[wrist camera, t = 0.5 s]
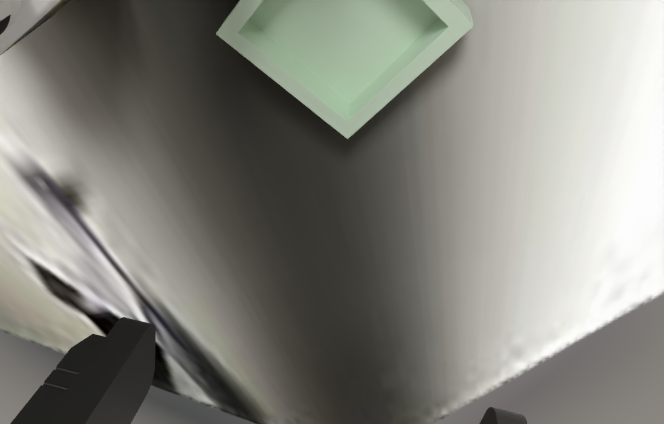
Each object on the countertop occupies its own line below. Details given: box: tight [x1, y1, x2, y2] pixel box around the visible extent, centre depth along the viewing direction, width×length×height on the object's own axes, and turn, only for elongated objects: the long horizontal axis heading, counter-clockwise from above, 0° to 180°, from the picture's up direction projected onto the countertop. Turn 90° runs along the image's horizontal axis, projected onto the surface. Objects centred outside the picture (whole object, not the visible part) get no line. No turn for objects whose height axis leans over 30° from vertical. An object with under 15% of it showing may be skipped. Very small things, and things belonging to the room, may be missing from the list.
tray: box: [216, 0, 474, 139], centre depth 32 cm, size 11×11×3 cm
